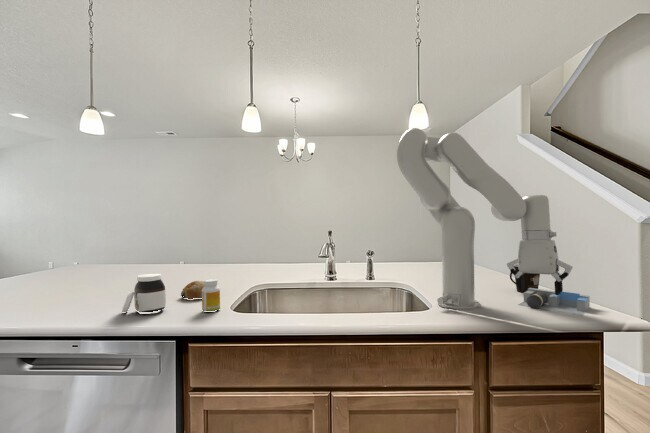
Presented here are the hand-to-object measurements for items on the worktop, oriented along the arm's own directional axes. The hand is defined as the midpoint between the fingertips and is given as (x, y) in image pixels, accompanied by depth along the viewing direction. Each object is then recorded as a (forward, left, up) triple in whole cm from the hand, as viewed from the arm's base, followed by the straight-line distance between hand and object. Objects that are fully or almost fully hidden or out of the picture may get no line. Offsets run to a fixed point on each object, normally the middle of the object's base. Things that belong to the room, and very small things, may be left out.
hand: (539, 292), depth 104 cm
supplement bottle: (-72, +71, -5) cm, 101 cm away
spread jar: (-88, +85, -5) cm, 122 cm away
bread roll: (-68, +92, -6) cm, 115 cm away
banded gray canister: (+1, +1, -5) cm, 5 cm away
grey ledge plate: (+4, -3, -5) cm, 7 cm away
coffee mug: (+18, +10, -5) cm, 22 cm away
